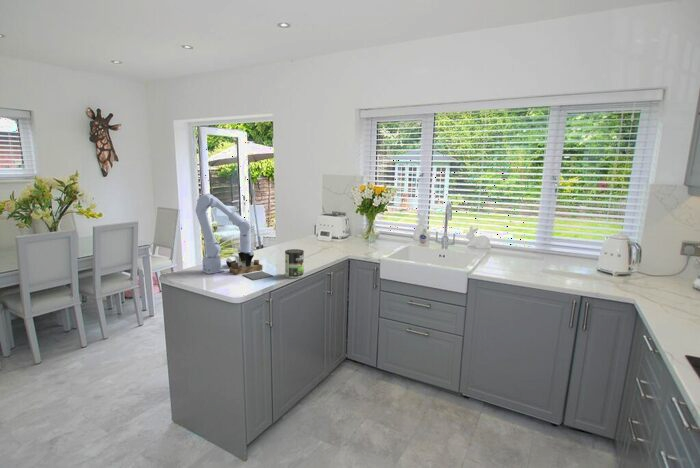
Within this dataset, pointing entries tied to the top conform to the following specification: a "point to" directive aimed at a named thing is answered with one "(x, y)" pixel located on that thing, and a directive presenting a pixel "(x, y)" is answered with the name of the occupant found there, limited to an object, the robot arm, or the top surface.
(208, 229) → the robot arm
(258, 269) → the board with knob
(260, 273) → the gray switch plate
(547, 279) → the top surface
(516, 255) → the top surface
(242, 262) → the lever cap
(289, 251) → the coffee can
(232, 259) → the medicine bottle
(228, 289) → the top surface
